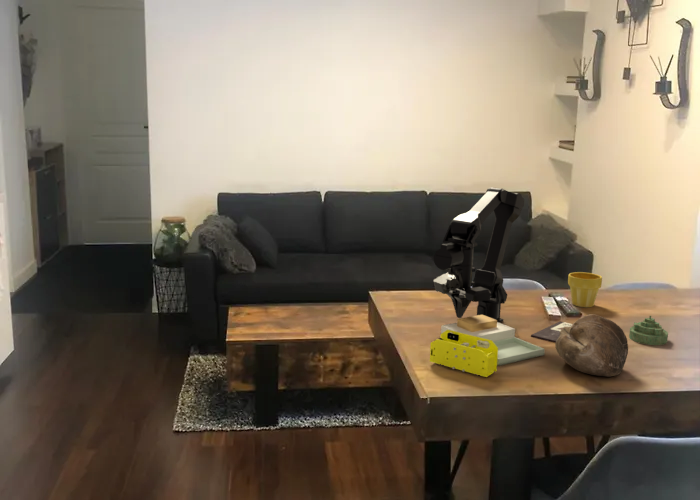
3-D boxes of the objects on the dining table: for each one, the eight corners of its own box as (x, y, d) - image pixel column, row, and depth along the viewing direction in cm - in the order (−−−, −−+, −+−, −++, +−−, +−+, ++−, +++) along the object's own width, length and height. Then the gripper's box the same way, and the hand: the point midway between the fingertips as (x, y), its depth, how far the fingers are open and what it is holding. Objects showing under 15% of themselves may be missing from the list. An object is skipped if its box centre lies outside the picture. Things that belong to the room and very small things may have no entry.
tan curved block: (481, 321, 213) (482, 314, 212) (496, 327, 208) (497, 320, 207) (457, 326, 208) (457, 319, 207) (471, 332, 203) (472, 325, 203)
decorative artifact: (629, 332, 219) (628, 342, 210) (631, 308, 218) (631, 318, 209) (666, 336, 216) (667, 347, 207) (669, 313, 215) (670, 323, 205)
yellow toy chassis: (497, 374, 185) (499, 341, 183) (486, 380, 180) (488, 347, 179) (440, 358, 194) (442, 327, 193) (428, 364, 190) (430, 332, 188)
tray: (514, 342, 208) (514, 336, 207) (544, 354, 198) (544, 348, 198) (469, 352, 199) (470, 346, 199) (498, 365, 190) (499, 359, 190)
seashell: (575, 350, 177) (594, 298, 184) (534, 362, 192) (553, 314, 199) (627, 385, 180) (644, 333, 186) (583, 395, 194) (600, 346, 201)
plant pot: (572, 298, 253) (575, 270, 251) (603, 304, 247) (606, 275, 245) (561, 305, 245) (563, 275, 243) (593, 311, 239) (596, 281, 237)
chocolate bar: (531, 334, 213) (560, 321, 226) (530, 338, 213) (559, 324, 227) (560, 342, 207) (588, 327, 221) (560, 345, 207) (588, 330, 221)
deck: (484, 330, 217) (485, 317, 217) (514, 342, 208) (515, 328, 207) (440, 339, 209) (441, 325, 208) (469, 352, 199) (470, 337, 198)
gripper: (418, 259, 214) (416, 313, 217) (461, 274, 199) (458, 331, 202) (449, 256, 220) (446, 307, 223) (493, 269, 204) (490, 325, 208)
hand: (459, 317), depth 214 cm, fingers closed
